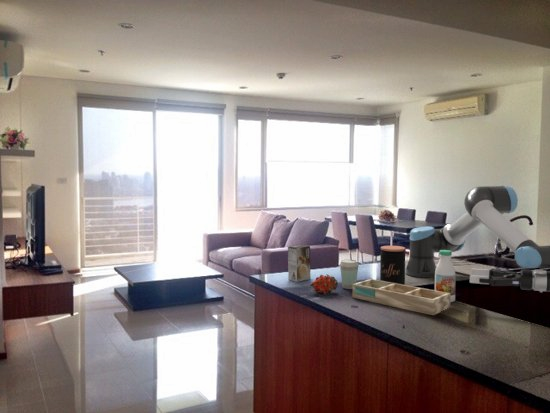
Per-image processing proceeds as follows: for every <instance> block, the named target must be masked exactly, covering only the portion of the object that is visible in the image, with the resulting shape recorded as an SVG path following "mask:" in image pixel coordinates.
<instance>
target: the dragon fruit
mask: <svg viewBox="0 0 550 413" xmlns="http://www.w3.org/2000/svg"><path fill="white" fill-rule="evenodd" d="M338 285H339V283H338V280H337V278H335V277H334V276H332V275H331V276H330V275H329V274H326V275H322V274H319V276H318V277H316V278H315V280H314V281H313V282H312V283H311V284H310V287H312V288H313V292H315V293H318V294H322V293H323V294H324V295H326V294H330V293H331V294H332V292H333V291H336V290H337V287H338Z"/></svg>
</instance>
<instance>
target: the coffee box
mask: <svg viewBox="0 0 550 413" xmlns="http://www.w3.org/2000/svg"><path fill="white" fill-rule="evenodd" d="M287 262H288V265H287V266H288V267H287V268H288V269H287V270H288V271H287V272H288V273H287V275H288V280H289V281H293V282H301V281H306V280H311V245H305V244H297V245H292V246H287Z"/></svg>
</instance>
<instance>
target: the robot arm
mask: <svg viewBox="0 0 550 413" xmlns="http://www.w3.org/2000/svg"><path fill="white" fill-rule="evenodd" d="M518 200H519V199H518V195H517V192H516V191H515V188H513V187H510V186H508V185H507V186H506V185H498V186H497V185H496V186H495V185H492V186H491V185H490V186H488V185H486V186H485V185H484V186H476V187H473V188H472V189H470V190H469V191H467V193H466V195H465V197H464V204H463V205H464V208H465V211H466V212H465V213H463V215H461V216H460V217H458V219H456V220H455V221H454V222H453V223H447V224H446V225H444V226H443V227H442V228H435V227H433V226H420V227H415V228H412V229H411V230H410V231H409V233H410V234H409V258H408V261H407V262H408V263H407V265H406V266H405V275H407V276H410V277H415V278H416V277H417V278H433V277H434V278H435V270H436V266H437V265H436V261H435V254H436V253H439V251H440V250H450V251H452V253H455V252H459V251H461V250H462V249H463V248H464V246H465V243H466V237H468V236H469V235H470V234H472V233H474V232H475V231H476V230H477V229H478V228H479V227H481V226H482V225H484V226H485V227H486V228H487V229H488V230H489V231H490V232H491V233H492V234H493V235H495V236H496V237H497V238H498V239H499V240H500V241H501V243H503V244H504V245H505V246H506V247H507V248H509V250H511V251H512V252H513V253H514V260H515V261H516V264H517V266H519V267H521V268H522V269H521V270H520V274H518V272H517V271H509V270H502V269H495V268H491V269H485V268H484V269H483V268H474V267H473V268H470V269H471V271H470V272H471V274H470V275H469V283H470V284H480V285H489V286H491V287H520V290H522V291H523V290H525V291H532V290H533V291H538V292H539V293H541V294H542V293H543V292H547V293H548V292H550V270H542V269H541V270H538V268H549V267H550V244H549V245H538V244H537V243H536V242H535V241H534V240H533V239H531V238H530V237H529V236H528V235H527V234H526V233H525V232H524V231H522V230H521V229H520V228H518V227H517V225H515V224H514V223H513V222H512V221H510V220H509V218H507V217H506V216H505V215H504V214H510V213H514V212H515V211H516V210H517V207H518V202H519V201H518ZM532 269H534V270H532ZM519 285H520V286H519Z"/></svg>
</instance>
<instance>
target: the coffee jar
mask: <svg viewBox="0 0 550 413" xmlns="http://www.w3.org/2000/svg"><path fill="white" fill-rule="evenodd" d="M380 250H381V251H380V253H379V254H380V256H379V257H380V260H379V261H380V263H379V264H380V266H379V267H380V268H379V269H380V273H379V274H380V275H379V278H380V281H385V282H391V283H397V284H402V285H406V247H404V246H402V245H401V246H400V245H383V246H380Z"/></svg>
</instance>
